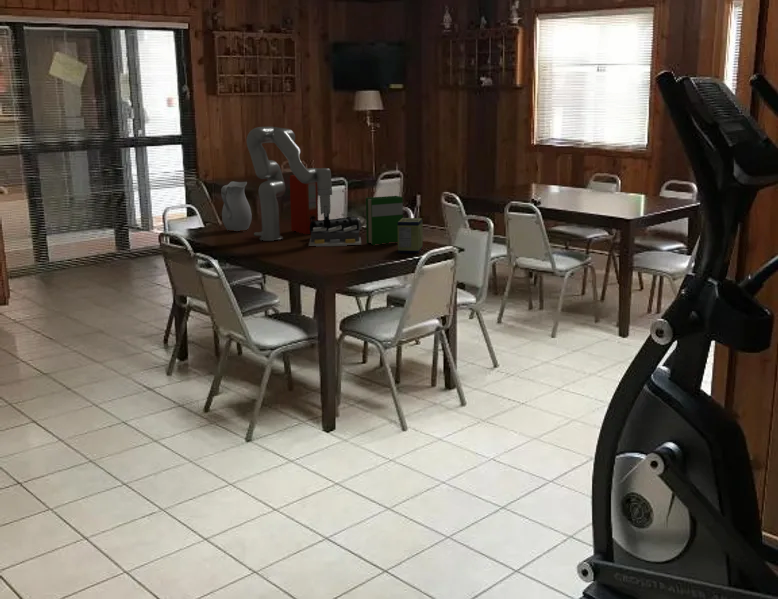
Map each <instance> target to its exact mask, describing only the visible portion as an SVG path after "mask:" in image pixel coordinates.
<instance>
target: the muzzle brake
mask: <svg viewBox="0 0 778 599" xmlns="http://www.w3.org/2000/svg"><path fill="white" fill-rule="evenodd" d="M329 219H330V227H328V228H326V231H328V229H329V228H333V227H336V226H340V225H341V227H342V229H340V230H337V231H344V228H347V227H351V226H354V225H356V226H357V229H354V230H352V231H358V230H359V232H360V231H361V229H362V222H361V219H360V218H359V217H358V216H346V217H341V218H340V217H339V218H338V217H337V218H329ZM314 227H324V219H322V220H319V219H318V221H312V222H311V223H310V233H311V232H312V231H313V228H314Z"/></svg>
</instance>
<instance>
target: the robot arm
mask: <svg viewBox="0 0 778 599" xmlns="http://www.w3.org/2000/svg"><path fill="white" fill-rule="evenodd" d="M295 141H296V134H295V132H294V130H292V129H290V128H284V127H276V126H258V127H255V128H252V129H251V130H250V131H249V133H248V134H247V137H246V146H247V150H248V152H249V155H250V158H251V162H252V165H253V169H254V172H255V175H256V177H257V178H258V179H261V180H265V179H266V180H265V181H264V182H261V183H260V185H259V187H258V196H259V197H258V198H259V202H260V213H261V214H260V216H261V231H259V232H257V231H256V232H253V236H254V237H259V241H262V240H263V241H264V242H275V241H274V240H278V241H281V239H282V240H283V239H284V236H282V235H281V232H280V231H281V230H280V229H281V227H280V226H281V225H280V208H279V207H280V205H279V202H278V199H277V198H280V197H282V196H284V195H285V194H286V183H285V179H284V177H283V172H282V169H281V167H280V165H279V163H277V161H276V160H273V159H269V157H268V154H267V151H266V149H265V147H264V146H263V144H269V143H271V144H272V143H274V144H275V146H276V147H277V148H278V149H279V150H280V152H281V153H282V154H283V156H284V157H285V158H286V159H287V161H288V165H289V168H290V171H291V172H292V175H295V176H296V178H297V179H298V180H299V181H300V182H302V183H304V184H308V183H313V182H317V192H318V197H319V206H320V215H323V220H324V228H328V227H330V219H331V218H330V214H331V208H332V206H331V196H333V183H332V172H331V169H330V168H327V167H321V168H318V167H317V168H316V167H310V168H309V167H308V168H307V167H306V166H305V165H304V163H303V162H302V161H301V159H300V154H301V151H302V150H301V148H300V147H299V145H298V144H296V142H295ZM263 241H262V242H263Z"/></svg>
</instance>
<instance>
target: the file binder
mask: <svg viewBox="0 0 778 599" xmlns="http://www.w3.org/2000/svg"><path fill="white" fill-rule="evenodd" d="M289 189H290V190H289V192H290V193H289V197H290V201H289V202H290V223H291V224H290V226H291V230H292V231H291V230H290V231H291V232H294V231H296V232H295V233H298V232H299V233H298V234H302V233H303V234H302V235H306V234H310V235H311V233H310V223H311V222H312V221H319V204H318V203H319V202H318V200H319V196H318V189H317V182H313V183H308V184H304V183H302V182H300V181H299V180H298V179H297V178H296V176H295V175H294V174H292V175H289ZM314 228H316V227H314Z"/></svg>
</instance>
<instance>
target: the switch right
mask: <svg viewBox="0 0 778 599" xmlns="http://www.w3.org/2000/svg"><path fill="white" fill-rule="evenodd" d="M354 229H357V226H356V225H354V226H351V227H347V228H344V232H347V231H351V230H354Z"/></svg>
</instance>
